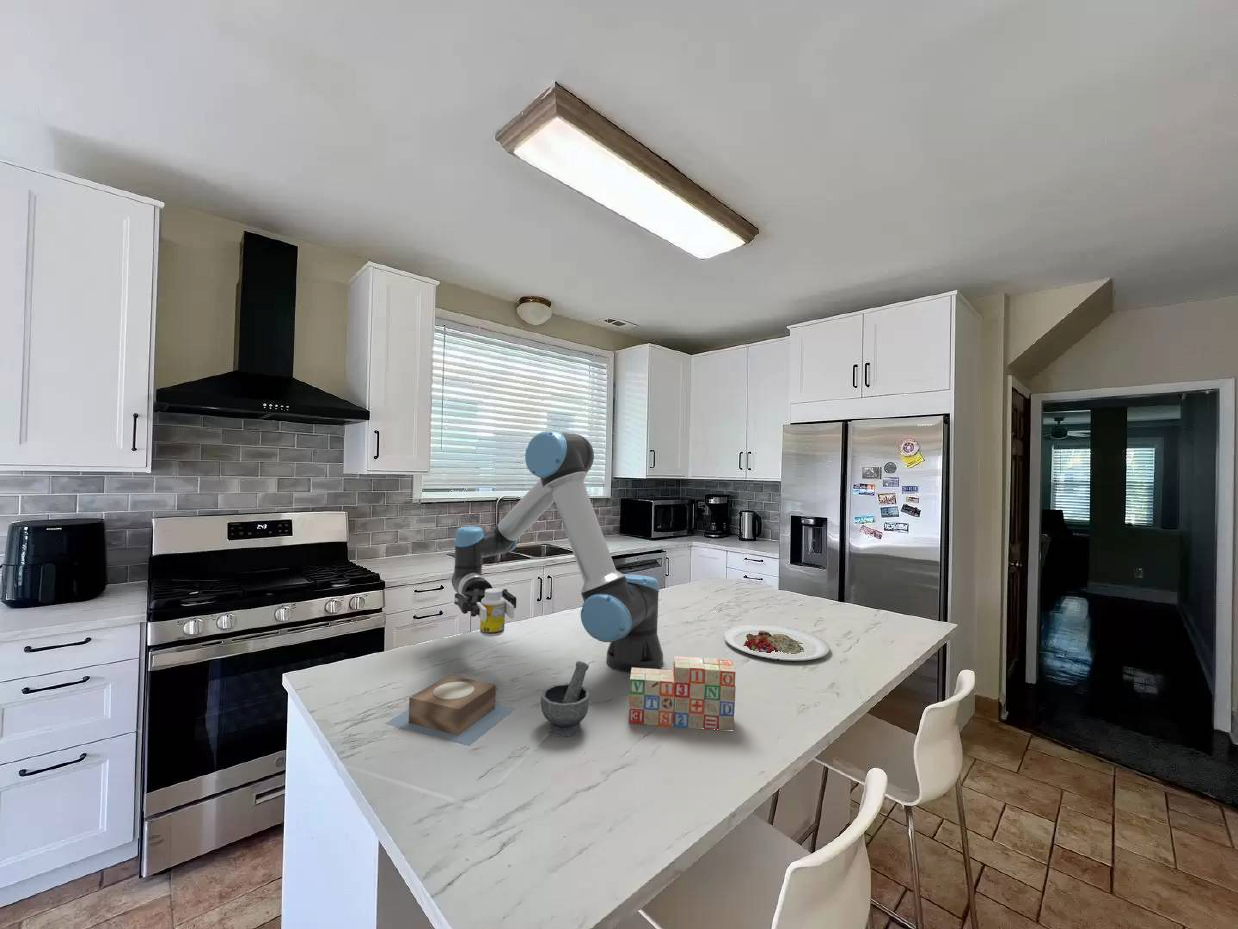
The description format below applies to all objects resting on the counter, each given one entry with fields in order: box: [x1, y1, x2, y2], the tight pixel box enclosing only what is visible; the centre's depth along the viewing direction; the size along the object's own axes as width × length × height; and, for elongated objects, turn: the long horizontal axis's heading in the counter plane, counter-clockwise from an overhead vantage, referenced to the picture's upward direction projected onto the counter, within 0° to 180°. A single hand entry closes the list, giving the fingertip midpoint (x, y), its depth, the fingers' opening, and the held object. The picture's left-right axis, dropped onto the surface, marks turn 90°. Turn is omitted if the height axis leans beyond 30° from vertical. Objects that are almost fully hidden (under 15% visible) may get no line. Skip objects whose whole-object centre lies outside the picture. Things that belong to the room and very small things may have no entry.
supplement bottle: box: [479, 587, 506, 637], centre depth 122 cm, size 6×6×10 cm
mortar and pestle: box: [540, 660, 591, 738], centre depth 103 cm, size 11×9×12 cm
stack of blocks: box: [628, 655, 737, 731], centre depth 107 cm, size 21×6×12 cm, turn 85°
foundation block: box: [408, 674, 497, 736], centre depth 106 cm, size 12×12×5 cm
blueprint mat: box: [384, 702, 517, 746], centre depth 106 cm, size 20×16×1 cm
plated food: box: [723, 624, 831, 662], centre depth 154 cm, size 30×30×3 cm
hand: (498, 613), depth 117 cm, fingers closed on supplement bottle, 6 cm apart
